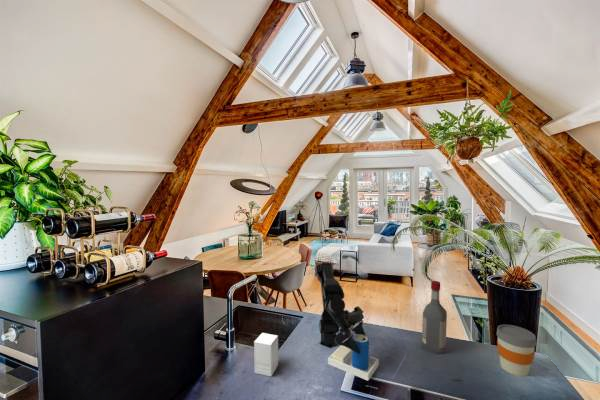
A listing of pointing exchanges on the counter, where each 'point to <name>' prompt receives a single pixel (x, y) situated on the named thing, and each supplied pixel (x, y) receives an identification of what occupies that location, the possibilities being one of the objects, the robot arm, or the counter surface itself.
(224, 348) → the counter surface
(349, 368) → the white rectangular tray
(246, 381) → the counter surface
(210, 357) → the counter surface
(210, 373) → the counter surface
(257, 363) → the supplement box
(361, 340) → the beverage can
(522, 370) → the reusable coffee cup
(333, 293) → the robot arm
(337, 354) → the beige rectangular block
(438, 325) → the liquor
